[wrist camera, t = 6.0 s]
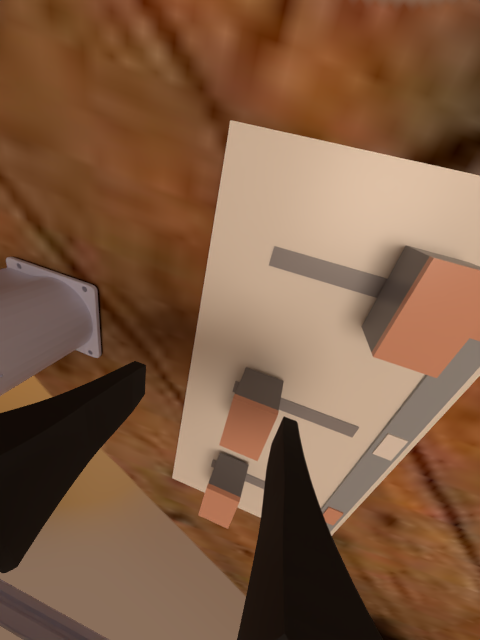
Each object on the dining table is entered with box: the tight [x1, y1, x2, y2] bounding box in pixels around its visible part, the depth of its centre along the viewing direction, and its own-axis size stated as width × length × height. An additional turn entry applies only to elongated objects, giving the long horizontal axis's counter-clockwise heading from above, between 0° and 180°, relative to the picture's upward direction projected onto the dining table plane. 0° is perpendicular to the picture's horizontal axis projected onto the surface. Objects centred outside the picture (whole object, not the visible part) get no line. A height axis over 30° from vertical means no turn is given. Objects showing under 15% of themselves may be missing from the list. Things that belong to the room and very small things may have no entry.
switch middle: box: [219, 367, 284, 461], centre depth 18 cm, size 3×5×3 cm, turn 167°
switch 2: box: [361, 245, 480, 378], centre depth 12 cm, size 3×5×3 cm, turn 167°
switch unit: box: [172, 120, 480, 536], centre depth 20 cm, size 18×34×2 cm, turn 167°
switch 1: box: [199, 453, 249, 529], centre depth 23 cm, size 3×5×3 cm, turn 167°
